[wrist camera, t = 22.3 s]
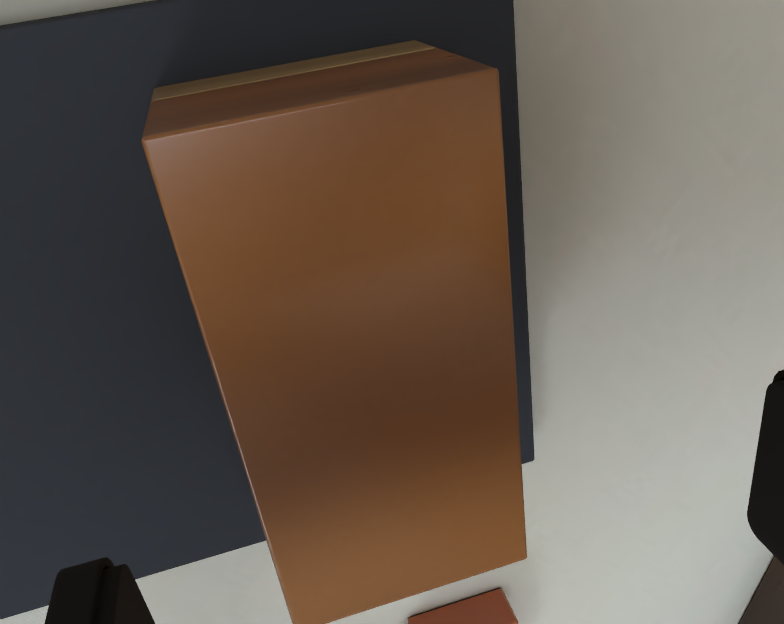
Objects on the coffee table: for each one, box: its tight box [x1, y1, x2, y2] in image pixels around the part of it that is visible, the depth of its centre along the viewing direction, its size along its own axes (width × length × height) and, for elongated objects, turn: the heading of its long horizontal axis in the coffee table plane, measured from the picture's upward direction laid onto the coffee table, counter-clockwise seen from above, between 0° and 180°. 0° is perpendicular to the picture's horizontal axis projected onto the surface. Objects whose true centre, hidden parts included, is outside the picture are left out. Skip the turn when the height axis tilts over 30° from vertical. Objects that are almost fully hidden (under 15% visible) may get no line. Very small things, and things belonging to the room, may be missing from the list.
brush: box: [141, 40, 527, 624], centre depth 15 cm, size 11×6×4 cm, turn 8°
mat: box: [0, 0, 534, 619], centre depth 17 cm, size 16×14×1 cm
